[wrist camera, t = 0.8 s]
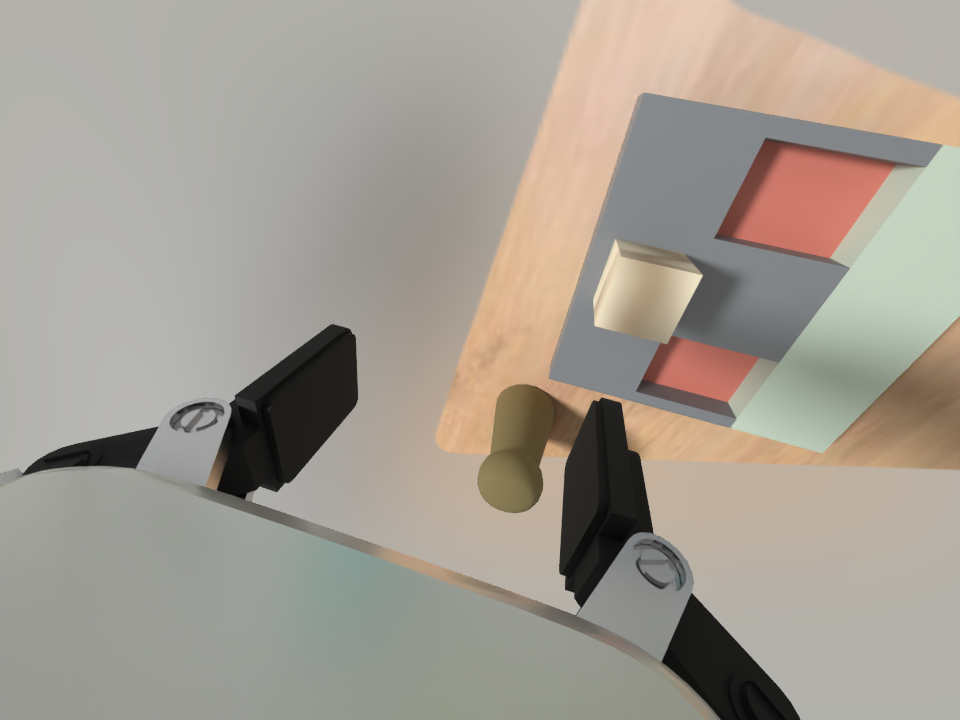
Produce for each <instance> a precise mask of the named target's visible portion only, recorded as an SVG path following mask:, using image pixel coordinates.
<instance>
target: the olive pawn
mask: <svg viewBox="0 0 960 720" xmlns="http://www.w3.org/2000/svg"><path fill="white" fill-rule="evenodd" d="M555 415H556V408H555V404H554V402H553V400H552V398H551V397H550V396H549V395H548V394H547V393H546V392H545V391H543V390H541V389H539V388H537V387H534V386H530V385H515V386H511V387H508V388H507V389H505V390H504V391H502V392H501V394H500V395H499V397H498V399H497V404H496V411H495V420H494V428H493V437H492V445H491V454H490V455H489V456H488V457H487V458H486V459H485V461H484V462H483V463H482V465H481V467H480V470H479V474H478V487H479V491H480V493H481V495H482V497H483V498H484V500H485V501H486V502H487V503H488V504H490V505H491V506H492V507H494V508H496V509H498V510H501V511H504V512H510V513H518V512H519V513H520V512H524V511H527V510H529V509H530V508H531V507H532V506H534V505H535V504H536V503H537V502H538V500H539V498H540V496H541V493H542V490H543V479H542V472H541V470H540V468H539V465H540V462H541V459H542V455H543V452H544V449H545V446H546V443H547V440H548V437H549V433H550V430H551V427H552V424H553V421H554V418H555Z"/></svg>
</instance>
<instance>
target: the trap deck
mask: <svg viewBox="0 0 960 720" xmlns="http://www.w3.org/2000/svg"><path fill="white" fill-rule="evenodd" d="M615 238H616V239H621V240H625V241H630V242H634V243H639V244H643V245H648V246H652V247H657V248H661V249H666V250H670V251H675V252H679V253H684V254H685V255H686V256H687V257H688V258H689V260H690V261H691V262H692V263H693V264H694V265H695V267H696V268H697V269H698V270H699V271H700V272H701V273H702V275H703V276H702V278H701V280H700V282H699V284H698V286H697V288H696V290H695V292H694V294H693V296H692V297H691V299H690V301H689V303H688V305H687V307H686V309H685V311H684V313H683V315H682V317H681V318H680V320H679V322H678V324H677V326H676V328H675V330H674V332H673V334H672V336H671V337H670V339H669V341H668V343H667V344H664V343H660V342H656V341H652V340H648V339H644V338H640V337H636V336H632V335H628V334H624V333H620V332H616V331H612V330H608V329H604V328H600V327H596V326H595V324H594V306H593V299H594V296H595V293H596V290H597V288H598V285H599V282H600V279H601V277H602V274H603V271H604V268H605V266H606V263H607V260H608V257H609V255H610V252H611V249H612V246H613V243H614V241H615ZM959 316H960V148H958V147H952V146H946V145H941V144H935V143H929V142H924V141H918V140H912V139H906V138H901V137H895V136H889V135H884V134H878V133H872V132H866V131H861V130H855V129H849V128H844V127H838V126H832V125H826V124H821V123H815V122H809V121H804V120H798V119H792V118H786V117H781V116H775V115H769V114H763V113H758V112H752V111H746V110H741V109H735V108H729V107H723V106H718V105H712V104H706V103H701V102H695V101H689V100H683V99H678V98H672V97H666V96H661V95H655V94H649V93H643V94H641V95H640V96H639V97H638V99H637V102H636V105H635V108H634V111H633V114H632V117H631V120H630V123H629V126H628V129H627V132H626V136H625V139H624V142H623V145H622V148H621V151H620V154H619V157H618V160H617V163H616V166H615V169H614V172H613V175H612V178H611V181H610V185H609V188H608V191H607V194H606V197H605V200H604V203H603V206H602V209H601V212H600V215H599V218H598V221H597V224H596V227H595V230H594V233H593V237H592V240H591V243H590V246H589V249H588V252H587V255H586V258H585V261H584V264H583V267H582V270H581V273H580V276H579V279H578V282H577V286H576V289H575V292H574V295H573V298H572V301H571V304H570V307H569V310H568V313H567V316H566V319H565V322H564V325H563V328H562V331H561V334H560V338H559V341H558V344H557V347H556V350H555V353H554V356H553V359H552V362H551V367H550V374H549V379H553V380H556V381H560V382H564V383H567V384H571V385H575V386H578V387H582V388H586V389H589V390H593V391H597V392H600V393H604V394H607V395H611V396H615V397H618V398H622V399H626V400H629V401H633V402H637V403H640V404H644V405H648V406H651V407H655V408H659V409H662V410H666V411H670V412H673V413H677V414H681V415H684V416H688V417H692V418H695V419H699V420H703V421H706V422H710V423H714V424H717V425H721V426H725V427H728V428H732V429H736V430H739V431H743V432H747V433H750V434H754V435H758V436H761V437H765V438H769V439H772V440H776V441H780V442H783V443H787V444H791V445H794V446H798V447H802V448H805V449H809V450H813V451H816V452H820V453H823V452H824V451H825V450H826V449H827V448H828V447H829V446H830V445H831V444H832V443H833V442H834V441H835V440H836V439H837V438H838V437H839V436H840V435H841V434H842V433H843V432H844V431H845V430H846V429H847V428H848V427H849V426H850V425H851V424H852V423H853V422H854V421H855V420H856V419H857V418H858V417H859V416H860V415H861V414H862V413H863V412H864V411H865V410H866V409H867V408H868V407H869V406H870V405H871V404H872V403H873V402H874V401H875V400H876V399H877V398H878V397H879V396H880V395H881V394H882V393H883V392H884V391H885V390H886V389H887V388H888V387H889V386H890V385H891V384H892V383H893V382H894V381H895V380H896V379H897V378H898V377H899V376H900V375H901V374H902V373H903V372H904V371H905V370H906V369H907V368H908V367H909V366H910V365H911V364H912V363H913V362H914V361H915V360H916V359H917V358H918V357H919V356H920V355H921V354H922V353H923V352H924V351H925V350H926V349H927V348H928V347H929V346H930V345H931V344H932V343H933V342H934V341H935V340H936V339H937V338H938V337H939V336H940V335H941V334H942V333H943V332H944V331H945V330H946V329H947V328H948V327H949V326H950V325H951V324H952V323H953V322H954V321H955V320H956V319H957V318H958V317H959Z"/></svg>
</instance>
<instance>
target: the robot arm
mask: <svg viewBox="0 0 960 720" xmlns="http://www.w3.org/2000/svg"><path fill="white" fill-rule="evenodd" d="M357 400H358V384H357V359H356V338H355V335H354V334H352V332H351V330H350V329H348V328H345V327H341V326H338V325H334V324H332V325H330V326H328V327H327V328H326V329H324V330H323V331H321V332H320V333H319V334H317V335H316V336H315V337H314V338H312V339H311V340H309V341H308V342H307V343H305V344H304V345H303V346H301V347H300V348H298V349H297V350H296V351H294V352H293V353H292V354H290V355H289V356H288V357H287V358H285V359H284V360H282V361H281V362H280V363H278V364H277V365H276V366H274V367H273V368H272V369H270V370H269V371H267V372H266V373H265V374H263V375H262V376H261V377H259V378H258V379H257V380H255V381H254V382H253V383H251V384H250V385H249V386H247V387H246V388H244V389H243V390H242V391H240V392H239V393H238V394H236V395H235V400H234V401H232V402H231V403H230V404H229V403H227V402H225V401H224V400H221V399H217V398H203V399H196V400H193V401H189V402H186V403H184V404H181V405H179V406H177V407H175V408H174V409H173V410H172V411H170V412H169V413H168V414H167V415H166V416H165V417H164V419H163V420H162V422H161V424H160V426H159V427H155V428H150V429H145V430H140V431H135V432H130V433H126V434H121V435H116V436H111V437H106V438H102V439H97V440H92V441H87V442H82V443H78V444H74V445H70V446H66V447H63V448H60V449H58V450H55V451H53V452H51V453H49V454H47V455H45V456H43V457H42V458H40V459H38V460H37V461H35V462H34V463H33V464H32V465H31V466H30V467H28V468H27V470H26V471H25V472H24V473H22V472H21V471H20V470H19V469H14V470H11V471H8V472H4V473H0V720H800V718H799V716H798V714H797V712H796V711H795V709H794V707H793V705H792V704H791V702H790V701H789V699H788V698H787V697H786V696H785V694H784V693H783V692H782V690H781V689H780V688H779V687H778V686H777V685H776V683H775V682H773V680H772V679H771V678H770V677H769V676H768V675H767V674H766V673H765V672H764V670H763V669H762V668H761V667H760V666H759V665H758V664H757V663H756V662H755V661H754V660H753V659H752V657H751V656H749V654H748V653H747V652H746V651H745V650H744V649H743V648H742V647H741V646H740V645H739V643H737V641H736V640H735V639H734V638H733V637H732V636H731V635H730V634H729V633H728V632H727V630H726V629H724V627H723V626H722V625H721V624H720V623H719V622H718V621H717V620H716V619H715V618H714V616H713V615H712V614H711V613H710V612H709V611H708V610H707V609H706V608H705V607H704V606H703V605H702V603H701V602H700V601H699V600H698V599H697V598H696V597H695V596H694V595H693V594H692V593H691V592H692V589H693V584H694V580H693V575H692V571H691V569H690V567H689V564H688V562H687V560H686V559H685V558H684V557H683V555H682V554H681V553H680V551H679V550H678V549H677V548H675V547H674V546H673V545H672V544H671V543H670V542H668V541H667V540H665V539H664V538H662V537H660V536H657V535H654V533H653V527H652V522H651V516H650V510H649V505H648V499H647V494H646V488H645V483H644V476H643V471H642V466H641V459H640V456H639V454H638V453H637V452H634V451H630V450H628V446H627V439H626V432H625V425H624V418H623V411H622V405H621V403H620V402H616V401H613V400H609V399H605V398H601V399H600V400H599V402H598V401H595V400H594V401H593V402H592V404H591V406H590V408H589V410H588V413H587V415H586V417H585V420H584V422H583V424H582V427H581V429H580V431H579V434H578V436H577V438H576V440H575V443H574V445H573V447H572V450H571V452H570V454H569V457H568V459H567V462H566V466H565V475H564V494H563V512H562V528H561V529H562V530H561V547H560V564H559V572H560V574H561V575H564V576H566V579H565V590H568V591H571V592H574V593H575V594H574V598H575V600H576V601H577V603H578V604H579V605H580V607H581V608H580V610H579V611H578V613H577V614H576V615H573V614H570V613H568V612H565V611H562V610H560V609H556V608H554V607H551V606H549V605H546V604H543V603H541V602H538V601H535V600H532V599H530V598H527V597H524V596H522V595H519V594H516V593H513V592H511V591H508V590H505V589H502V588H499V587H497V586H493V585H491V584H488V583H485V582H482V581H479V580H477V579H474V578H471V577H468V576H465V575H462V574H459V573H457V572H454V571H451V570H448V569H445V568H442V567H440V566H437V565H434V564H431V563H428V562H425V561H422V560H419V559H417V558H414V557H411V556H407V555H405V554H402V553H399V552H396V551H393V550H391V549H388V548H385V547H382V546H379V545H376V544H373V543H370V542H367V541H364V540H362V539H359V538H356V537H353V536H350V535H347V534H344V533H341V532H338V531H335V530H332V529H330V528H327V527H324V526H321V525H318V524H315V523H312V522H309V521H306V520H303V519H300V518H297V517H294V516H291V515H288V514H285V513H282V512H280V511H276V510H273V509H271V508H268V507H265V506H262V505H259V504H256V503H253V502H252V498H253V494H254V491H255V490H257V489H258V488H259V487H263V488H266V489H269V490H272V491H275V492H278V490H279V489H280V488H281V487H282V486H283V485H284V483H289V482H291V481H292V480H293V479H294V478H295V477H296V476H297V474H298V473H299V472H300V471H301V469H302V468H303V467H304V466H305V465H306V464H307V463H308V461H309V460H310V459H311V458H312V456H314V454H315V453H316V452H317V451H318V450H319V449H320V447H321V446H322V445H323V444H324V443H325V441H326V440H327V439H328V438H329V437H330V436H331V434H332V433H333V432H334V431H335V430H336V428H337V427H338V426H339V425H340V424H341V423H342V421H343V420H344V419H345V418H346V417H347V415H348V414H349V413H350V412H351V411H352V410H353V408H354V407H355V405H356V403H357Z"/></svg>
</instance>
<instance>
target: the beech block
mask: <svg viewBox="0 0 960 720" xmlns="http://www.w3.org/2000/svg"><path fill="white" fill-rule="evenodd" d="M702 276H703V275H702V273H701V272H700V271H699V270H698V269H697V268H696V267H695V265H694V264H693V263H692V262H691V261H690V260H689V258H688V257H687V256H686V255H685V254H684V253H679V252H675V251H670V250H666V249H661V248H657V247H652V246H648V245H643V244H639V243H634V242H630V241H625V240H621V239H616V238H615V241H614V243H613V246H612V249H611V252H610V255H609V257H608V260H607V263H606V266H605V268H604V271H603V274H602V277H601V279H600V282H599V285H598V288H597V290H596V293H595V296H594V299H593V306H594V324H595V326H596V327H600V328H604V329H608V330H612V331H616V332H620V333H624V334H628V335H632V336H636V337H640V338H644V339H648V340H652V341H656V342H660V343H664V344H667V343H668V341H669V339H670V337H671V336H672V334H673V332H674V330H675V328H676V326H677V324H678V322H679V320H680V318H681V317H682V315H683V313H684V311H685V309H686V307H687V305H688V303H689V301H690V299H691V297H692V296H693V294H694V292H695V290H696V288H697V286H698V284H699V282H700V280H701V278H702Z"/></svg>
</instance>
